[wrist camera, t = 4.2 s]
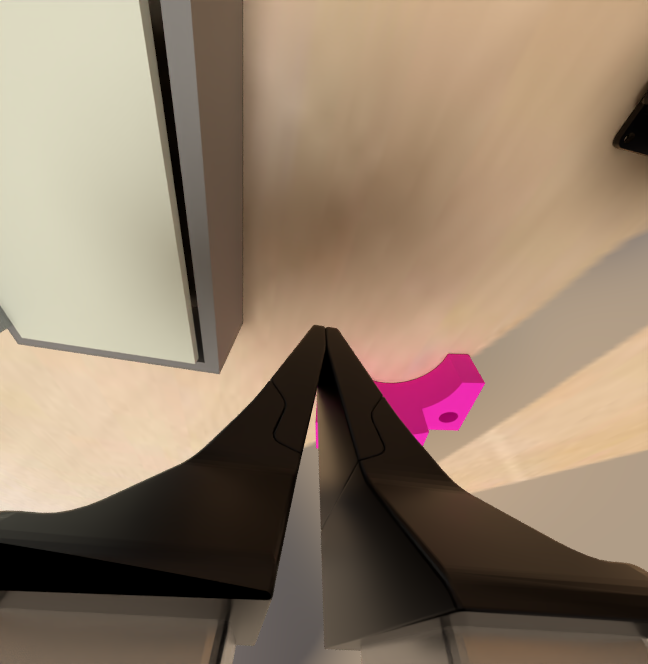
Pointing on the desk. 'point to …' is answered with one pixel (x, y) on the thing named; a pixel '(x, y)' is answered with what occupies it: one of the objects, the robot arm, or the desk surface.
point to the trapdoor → (88, 182)
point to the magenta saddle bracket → (434, 397)
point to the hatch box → (204, 171)
